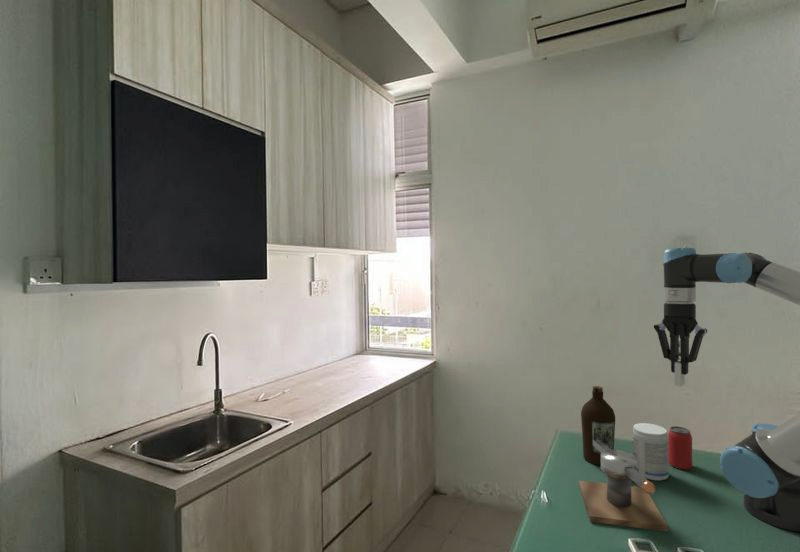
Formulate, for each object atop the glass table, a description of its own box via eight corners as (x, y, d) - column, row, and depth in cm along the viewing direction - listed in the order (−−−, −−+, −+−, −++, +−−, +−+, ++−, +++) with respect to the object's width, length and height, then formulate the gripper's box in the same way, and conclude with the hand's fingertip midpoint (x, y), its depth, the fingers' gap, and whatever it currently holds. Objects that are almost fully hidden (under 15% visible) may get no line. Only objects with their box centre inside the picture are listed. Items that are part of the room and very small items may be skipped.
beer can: (665, 465, 137) (665, 429, 136) (671, 458, 141) (671, 424, 141) (689, 472, 132) (689, 435, 131) (694, 465, 136) (694, 429, 136)
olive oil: (576, 452, 147) (575, 382, 147) (607, 452, 147) (606, 382, 146) (588, 466, 137) (588, 392, 136) (621, 466, 136) (621, 391, 135)
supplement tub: (674, 475, 130) (674, 429, 129) (659, 485, 125) (659, 437, 124) (642, 463, 138) (642, 420, 138) (627, 472, 133) (627, 427, 132)
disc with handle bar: (581, 451, 127) (581, 438, 127) (610, 449, 127) (610, 437, 127) (634, 501, 100) (634, 485, 100) (670, 499, 100) (670, 483, 100)
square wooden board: (645, 492, 121) (644, 459, 121) (667, 531, 104) (667, 493, 103) (578, 485, 126) (578, 454, 125) (590, 521, 108) (589, 485, 108)
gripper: (648, 301, 120) (649, 382, 121) (701, 305, 110) (701, 393, 110) (660, 300, 124) (660, 377, 125) (711, 302, 114) (712, 387, 115)
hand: (679, 384), depth 118 cm, fingers closed
